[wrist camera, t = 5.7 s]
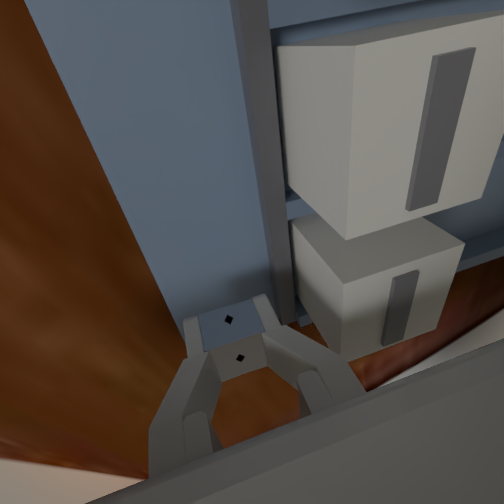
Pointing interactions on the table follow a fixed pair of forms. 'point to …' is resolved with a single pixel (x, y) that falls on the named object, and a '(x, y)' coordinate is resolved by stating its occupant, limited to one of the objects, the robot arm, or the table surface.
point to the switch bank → (219, 134)
